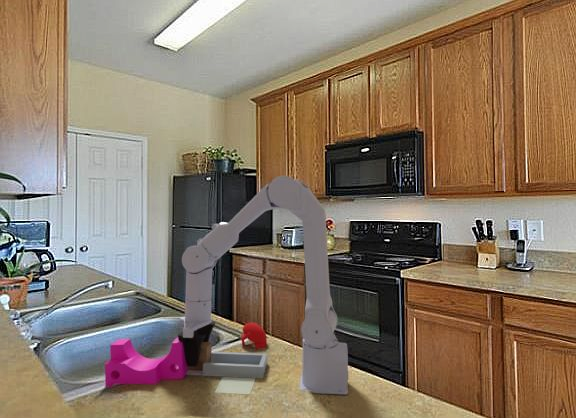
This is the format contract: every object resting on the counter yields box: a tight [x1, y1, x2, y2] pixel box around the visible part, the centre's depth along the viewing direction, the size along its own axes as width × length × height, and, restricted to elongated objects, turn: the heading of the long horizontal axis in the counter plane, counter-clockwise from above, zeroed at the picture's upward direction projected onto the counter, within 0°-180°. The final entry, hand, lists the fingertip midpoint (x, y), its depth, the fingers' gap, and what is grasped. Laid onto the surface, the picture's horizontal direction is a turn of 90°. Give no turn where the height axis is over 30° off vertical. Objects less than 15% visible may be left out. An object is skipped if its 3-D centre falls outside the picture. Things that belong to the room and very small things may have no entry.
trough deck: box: [185, 351, 268, 379], centre depth 86 cm, size 19×8×3 cm, turn 86°
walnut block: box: [187, 341, 213, 371], centre depth 87 cm, size 6×4×5 cm, turn 86°
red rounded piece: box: [240, 322, 268, 350], centre depth 102 cm, size 8×6×6 cm
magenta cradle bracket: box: [104, 336, 188, 387], centre depth 81 cm, size 15×6×8 cm, turn 89°
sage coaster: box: [214, 376, 256, 395], centre depth 78 cm, size 7×7×1 cm
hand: (196, 359), depth 86 cm, fingers open, 6 cm apart
